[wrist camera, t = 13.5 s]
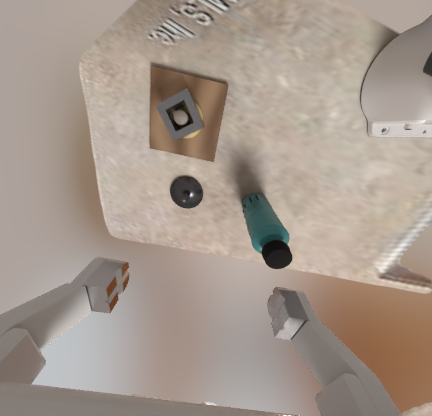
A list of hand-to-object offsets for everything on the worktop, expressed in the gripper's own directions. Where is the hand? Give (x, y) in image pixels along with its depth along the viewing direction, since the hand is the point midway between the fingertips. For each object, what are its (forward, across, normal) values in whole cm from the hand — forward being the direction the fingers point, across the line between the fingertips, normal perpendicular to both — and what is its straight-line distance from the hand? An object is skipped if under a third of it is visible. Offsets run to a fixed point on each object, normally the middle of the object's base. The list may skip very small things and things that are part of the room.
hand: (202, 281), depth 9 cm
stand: (+31, +6, +8) cm, 33 cm away
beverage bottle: (+31, -11, +7) cm, 34 cm away
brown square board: (+31, +8, -8) cm, 33 cm away
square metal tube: (+29, +8, -8) cm, 31 cm away
